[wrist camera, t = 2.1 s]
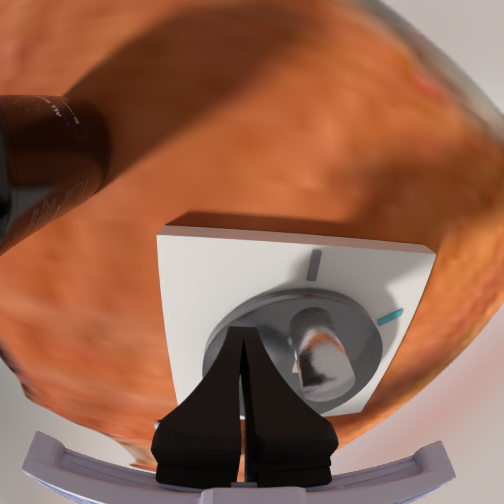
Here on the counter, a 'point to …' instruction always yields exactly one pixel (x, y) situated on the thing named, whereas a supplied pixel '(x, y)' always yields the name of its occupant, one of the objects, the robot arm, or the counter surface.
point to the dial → (309, 343)
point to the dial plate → (280, 286)
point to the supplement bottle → (47, 161)
